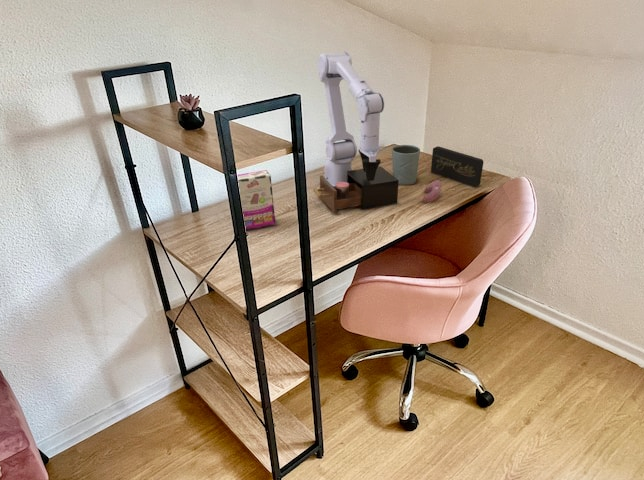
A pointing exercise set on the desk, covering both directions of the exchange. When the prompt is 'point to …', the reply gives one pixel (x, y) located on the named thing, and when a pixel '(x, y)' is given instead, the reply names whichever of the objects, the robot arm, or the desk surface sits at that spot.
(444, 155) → the nameplate
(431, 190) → the pink curved piece
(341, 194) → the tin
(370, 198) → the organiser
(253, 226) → the candy bar box
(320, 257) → the desk surface
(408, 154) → the green cup
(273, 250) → the desk surface
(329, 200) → the drawer
